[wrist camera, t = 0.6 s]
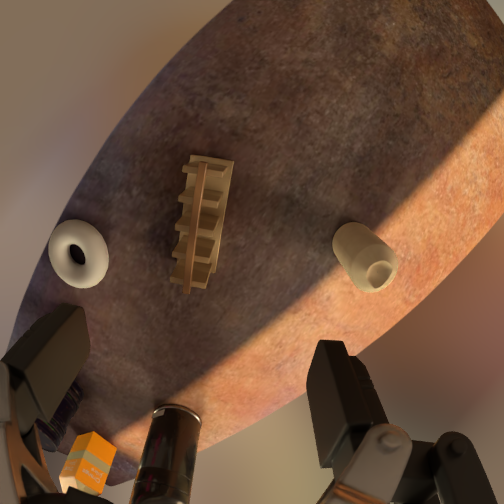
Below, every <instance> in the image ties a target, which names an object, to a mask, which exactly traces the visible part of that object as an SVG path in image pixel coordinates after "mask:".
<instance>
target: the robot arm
mask: <svg viewBox="0 0 504 504" xmlns="http://www.w3.org/2000/svg"><path fill="white" fill-rule="evenodd" d="M89 353H90V339H89V334H88V329H87V323H86V317H85V312H84V309H83V308H82V307H81V306H76V305H72V304H68V303H61V304H60V305H59V306H58V307H57V308H56V309H55V310H54V311H53V312H52V313H49V314H47V315H45V316H43V317H41V318H40V319H38V320H37V321H36V322H35V323H34V324H33V325H32V326H31V327H30V330H27V331H26V332H25V333H24V335H23V337H21V338H20V339H19V340H18V341H17V342H16V343H15V344H14V345H13V347H12V348H11V349H10V350H9V351H8V352H7V353H6V354H5V356H4V357H3V358H2V359H1V360H0V504H113V503H112V502H110V501H108V500H106V499H104V498H101V497H98V496H95V495H92V494H89V493H86V492H84V491H81V490H79V489H76V488H74V487H71V486H69V487H68V489H67V492H66V494H65V493H59V492H58V490H57V488H56V486H55V485H54V482H53V481H52V479H51V477H50V475H49V472H48V469H47V466H46V462H45V458H44V454H43V450H42V446H41V441H40V437H39V432H38V428H37V425H36V424H35V420H36V419H37V418H38V419H41V420H43V421H45V422H48V423H49V422H50V420H51V418H52V416H53V415H54V413H55V411H56V409H57V408H58V406H59V404H60V403H61V401H62V399H63V397H64V396H65V394H66V392H67V391H68V389H69V387H70V386H71V384H72V383H73V381H74V379H75V378H76V376H77V374H78V373H79V371H80V370H81V368H82V366H83V365H84V363H85V362H86V360H87V358H88V356H89ZM306 389H307V395H308V400H309V406H310V411H311V417H312V422H313V428H314V433H315V439H316V445H317V451H318V456H319V462H320V468H332V469H333V474H334V479H333V481H332V482H331V483H330V485H329V486H328V488H327V489H326V491H325V492H324V493H323V495H322V496H321V498H320V499H319V500H318V501H317V503H316V504H390V502H394V504H440V500H441V503H442V504H498V503H497V501H496V498H495V495H494V493H493V490H492V488H491V485H490V483H489V480H488V478H487V475H486V473H485V471H484V469H483V466H482V464H481V461H480V459H479V457H478V455H477V453H476V450H475V448H474V446H473V444H472V442H471V441H470V440H469V439H468V438H467V437H466V436H465V435H463V434H461V433H458V432H453V431H452V432H446V433H444V434H443V435H441V437H440V438H439V439H438V440H437V441H436V442H435V443H432V442H423V441H415V440H411V439H410V437H409V435H408V434H407V433H406V432H405V431H404V430H403V429H402V428H400V427H398V426H396V425H393V424H389V422H388V419H387V417H386V415H385V412H384V409H383V407H382V405H381V402H380V400H379V397H378V395H377V392H376V390H375V389H374V385H373V383H372V380H370V376H369V373H368V371H367V369H366V366H365V365H364V364H363V363H362V362H361V361H360V360H359V359H358V358H357V357H356V356H349V355H348V352H347V350H346V347H345V345H344V343H343V341H336V340H319V342H318V344H317V347H316V350H315V353H314V356H313V359H312V362H311V366H310V369H309V372H308V375H307V382H306ZM152 418H153V419H152V423H151V426H150V429H149V432H148V436H147V439H146V442H145V446H144V449H143V453H142V456H141V460H140V463H139V467H138V471H137V474H136V478H135V482H134V486H133V489H132V494H131V498H130V501H129V504H189V502H190V495H191V487H192V480H193V473H194V466H195V460H196V453H197V447H198V440H199V434H200V429H201V425H202V421H201V419H200V417H199V416H198V415H197V414H196V413H195V412H193V411H192V410H190V409H188V408H186V407H183V406H179V405H173V404H166V405H161V406H159V407H157V408H156V409H155V411H154V413H153V416H152ZM437 493H438V494H439V497H440V500H439V498H438V494H437Z"/></svg>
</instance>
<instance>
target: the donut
mask: <svg viewBox="0 0 504 504" xmlns="http://www.w3.org/2000/svg"><path fill="white" fill-rule="evenodd" d="M71 244H76V245H77V246H79V247H80V248H81V249H82V250H83V252H84V254H85V258H86V262H85V264H84V265H80V264H78V263H76V262H75V261H74V260H73V258H72V256H71V254H70V245H71ZM49 257H50V261H51V264H52V266H53V268H54V270H55V272H56V273H57V274H58V275H59V276H60V278H61V279H62V280H63V281H65V282H66V283H68V284H69V285H71V286H74V287H77V288H89V287H92V286H94V285H96V284H98V283H99V282H100V281H101V280H102V279H103V278H104V276H105V273H106V271H107V269H108V261H109V255H108V250H107V245H106V243H105V241H104V239H103V237H102V235H101V234H100V233H99V232H98V231H97V230H96V228H95V227H93V226H92V225H90V224H89V223H87V222H85V221H81V220H78V219H74V220H66V221H64V222H63V223H61V224H59V225H58V226H57V227H56V228H55V230H54V231H53V233H52V234H51V238H50V241H49Z"/></svg>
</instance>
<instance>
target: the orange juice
mask: <svg viewBox="0 0 504 504" xmlns="http://www.w3.org/2000/svg"><path fill="white" fill-rule="evenodd" d="M116 449H117V448H116V447H114V446H113V445H112V444H110V443H109V442H107V441H106V440H105V439H103V438H102V437H101V436H99V435H98V434H97V433H95V432H94V431H93V432H90V433H86V434H83V435H79V436H77V438H76V440H75V442H74V445H73V447H72V449H71V451H70V453H69V455H68V457H67V460H66V462H65V465H64V467H63V469H62V472H61V474H60V476H59V479H60V483H61V487H62V491H63V493H65V494H66V492H67V489H68V487H69V486H71V487H74V488H76V489H79V490H81V491H84V492H86V493H89V494H92V495H95V496H99V495H100V494H102V490H103V487H104V484H105V481H106V478H107V475H108V473H109V470H110V467H111V464H112V461H113V458H114V455H115V452H116Z"/></svg>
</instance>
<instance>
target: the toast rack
mask: <svg viewBox="0 0 504 504" xmlns="http://www.w3.org/2000/svg"><path fill="white" fill-rule="evenodd" d="M233 165H234V161H232V160H226V159H220V158H214V157H208V156H201V155H194V154H192V155H191V156H190V162H189V163H188V164H185V165H183V169H182V172H185V173H188V175H187V182H186V189H185V191H184V192H182V193H181V194H180V195H179V198H178V202H183V203H184V204H183V211H182V217H181V218H180V219H179V220H178V222H177V223H176V224H175V230H176V231H180V236H179V243H178V244H177V246H176V247H175V248H174V250H173V252H172V257H174V258H177V265H176V267H175V269H174V271H173V273H172V275H171V276H170V282H172V283H177V284H182V285H183V289H182V293H185V294H189V293H190V290H191V286H193V287H198V288H203V289H205V288H206V285H207V281H208V278H209V275H210V272H211V273H215V271H216V265H217V259H218V253H219V246H220V240H221V234H222V228H223V222H224V216H225V210H226V204H227V199H228V193H229V187H230V182H231V176H232V170H233Z"/></svg>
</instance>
